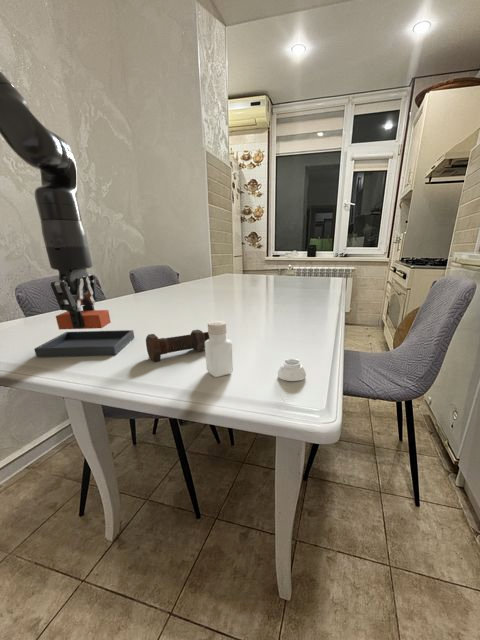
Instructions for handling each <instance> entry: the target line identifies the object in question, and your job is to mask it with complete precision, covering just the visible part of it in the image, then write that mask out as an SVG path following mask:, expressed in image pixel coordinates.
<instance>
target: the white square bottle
mask: <svg viewBox="0 0 480 640" xmlns="http://www.w3.org/2000/svg"><path fill="white" fill-rule="evenodd" d="M207 332H208V334H209V339H208V340H206V341H205V349H204V351H205V352H204V354H205V365H206V367H205V368H206V371H207V373H208V374H210V375H211V376H212V377H213V378H218V377H222V376H227V375H231V374H232V373H233V372H234V362H233V361H234V360H233V344H232V343H233V342H232V341H231V340H230V339H228V338H227V332H228V331H227V323H226V321H224V320H212V321H209V322H208V323H207Z"/></svg>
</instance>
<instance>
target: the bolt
mask: <svg viewBox="0 0 480 640" xmlns="http://www.w3.org/2000/svg"><path fill="white" fill-rule="evenodd" d="M145 337H146V338H145V345H146V352H147V356H148V357H149V360H150V361H151V362H154V363H155V362H160V361H161V357H162V356H163V355H167V354H170V353H175V352H176V353H177V352H181V351H182V352H183V351H187V350H191V349H192V350H193V351H195V352H203V351H205V341H206V340H208V339H209V334H208V331H203V330H200V329H193V330H191V332H190V333H189V334H184V335H178V336H170V337H160V338H159V336H157V335H156V334H155V333H149V334H147V335H146V336H145Z"/></svg>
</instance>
